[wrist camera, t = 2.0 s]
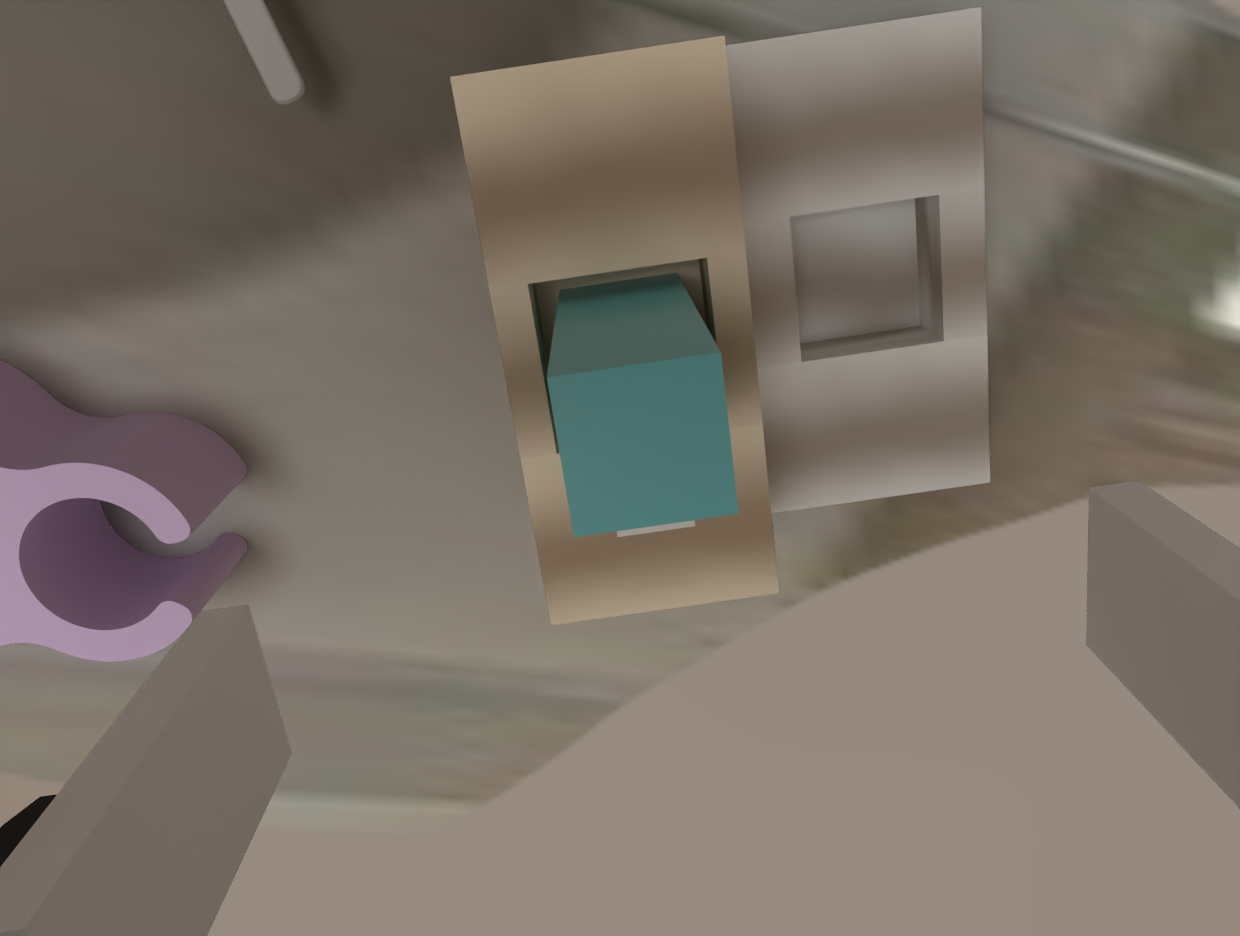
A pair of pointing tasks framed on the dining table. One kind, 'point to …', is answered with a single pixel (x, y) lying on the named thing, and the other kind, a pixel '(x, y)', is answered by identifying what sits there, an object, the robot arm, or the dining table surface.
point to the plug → (639, 409)
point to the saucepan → (267, 49)
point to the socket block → (749, 271)
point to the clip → (104, 524)
